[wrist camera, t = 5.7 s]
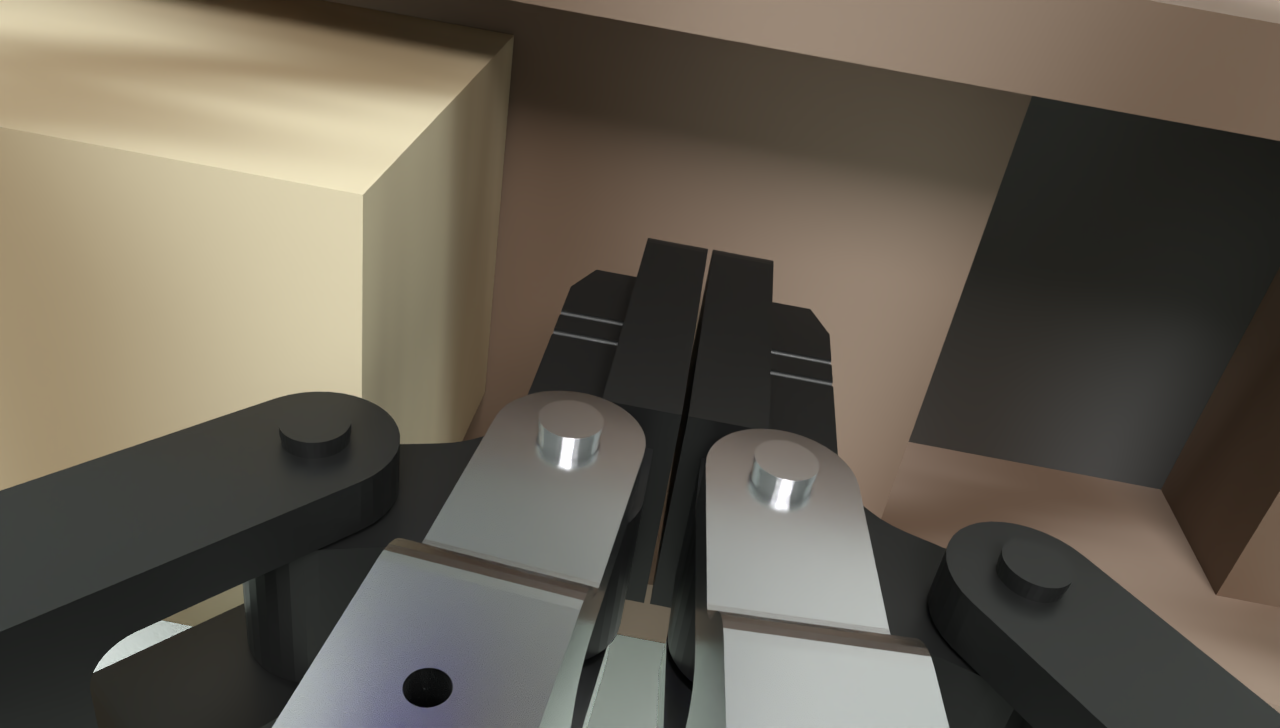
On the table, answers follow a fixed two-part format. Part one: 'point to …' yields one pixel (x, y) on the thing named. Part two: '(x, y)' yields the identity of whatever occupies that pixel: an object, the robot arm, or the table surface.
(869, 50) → the brown wooden long box
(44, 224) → the birch block
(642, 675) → the table surface
